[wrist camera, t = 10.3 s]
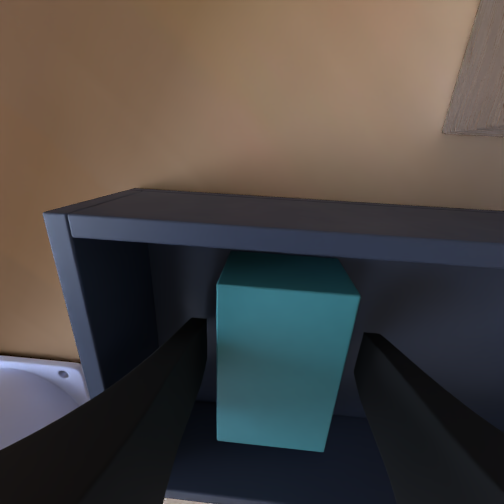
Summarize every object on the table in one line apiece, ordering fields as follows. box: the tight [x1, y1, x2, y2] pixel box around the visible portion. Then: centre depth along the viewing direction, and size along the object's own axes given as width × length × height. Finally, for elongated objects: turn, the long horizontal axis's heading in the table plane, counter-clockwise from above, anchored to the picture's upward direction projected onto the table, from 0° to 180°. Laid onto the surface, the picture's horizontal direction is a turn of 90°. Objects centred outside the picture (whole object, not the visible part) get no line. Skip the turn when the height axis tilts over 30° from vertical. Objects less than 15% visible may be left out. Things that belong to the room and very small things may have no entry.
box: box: [43, 188, 504, 504], centre depth 9 cm, size 20×11×4 cm, turn 87°
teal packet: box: [216, 251, 361, 452], centre depth 10 cm, size 4×7×3 cm, turn 177°
